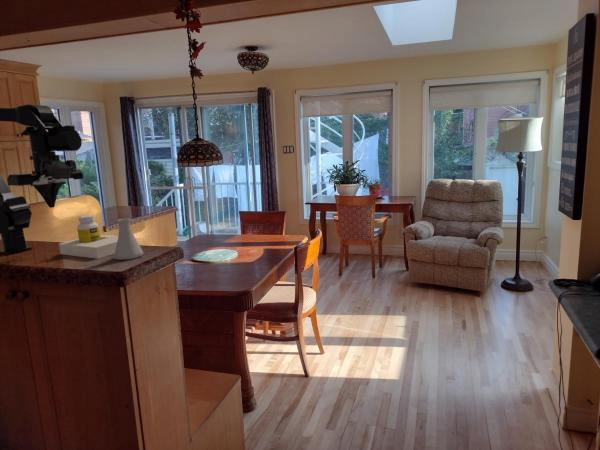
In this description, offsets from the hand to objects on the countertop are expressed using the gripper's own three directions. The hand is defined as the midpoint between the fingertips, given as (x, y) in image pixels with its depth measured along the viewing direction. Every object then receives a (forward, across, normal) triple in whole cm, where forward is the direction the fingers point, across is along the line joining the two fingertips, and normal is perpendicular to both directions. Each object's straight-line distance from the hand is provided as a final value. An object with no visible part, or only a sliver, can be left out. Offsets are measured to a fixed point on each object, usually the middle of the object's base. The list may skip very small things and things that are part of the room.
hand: (51, 207), depth 126 cm
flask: (+12, +1, -28) cm, 31 cm away
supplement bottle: (+12, +4, -10) cm, 17 cm away
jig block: (+12, +3, -13) cm, 18 cm away
